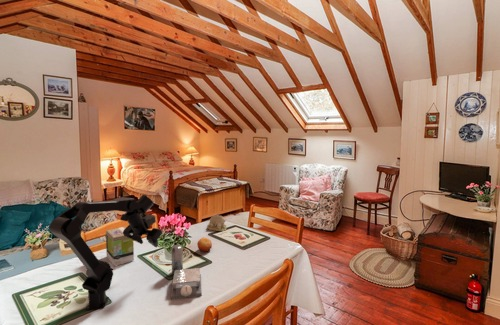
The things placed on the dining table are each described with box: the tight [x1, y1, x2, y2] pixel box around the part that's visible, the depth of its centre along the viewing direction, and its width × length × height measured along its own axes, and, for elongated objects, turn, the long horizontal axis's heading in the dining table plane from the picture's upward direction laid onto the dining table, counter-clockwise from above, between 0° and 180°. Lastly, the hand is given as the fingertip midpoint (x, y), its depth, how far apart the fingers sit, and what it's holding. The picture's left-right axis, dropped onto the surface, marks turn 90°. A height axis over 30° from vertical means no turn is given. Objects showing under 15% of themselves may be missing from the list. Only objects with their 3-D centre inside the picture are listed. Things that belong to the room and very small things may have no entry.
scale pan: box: [172, 267, 201, 289], centre depth 116 cm, size 11×11×2 cm
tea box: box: [105, 226, 135, 267], centre depth 140 cm, size 15×10×15 cm, turn 41°
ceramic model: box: [206, 214, 227, 232], centre depth 188 cm, size 14×11×10 cm
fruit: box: [197, 237, 213, 253], centre depth 152 cm, size 8×8×8 cm
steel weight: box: [171, 244, 184, 275], centre depth 127 cm, size 5×5×12 cm
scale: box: [170, 273, 202, 300], centre depth 114 cm, size 15×12×5 cm
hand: (149, 244), depth 126 cm, fingers open, 9 cm apart
